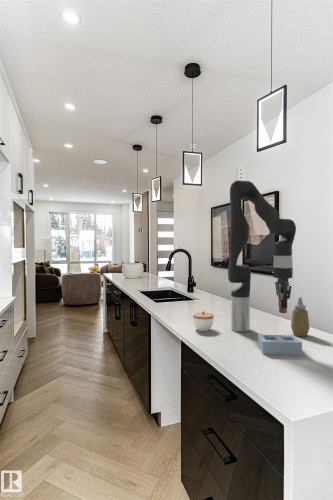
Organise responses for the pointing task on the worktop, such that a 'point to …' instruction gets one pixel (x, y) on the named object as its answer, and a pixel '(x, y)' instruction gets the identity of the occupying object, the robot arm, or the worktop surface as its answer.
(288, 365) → the worktop surface
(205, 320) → the lidded jar
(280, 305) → the dowel
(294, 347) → the socket block
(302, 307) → the squeeze bottle
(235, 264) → the robot arm
